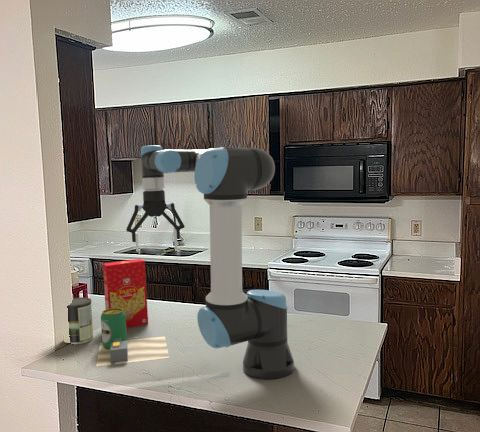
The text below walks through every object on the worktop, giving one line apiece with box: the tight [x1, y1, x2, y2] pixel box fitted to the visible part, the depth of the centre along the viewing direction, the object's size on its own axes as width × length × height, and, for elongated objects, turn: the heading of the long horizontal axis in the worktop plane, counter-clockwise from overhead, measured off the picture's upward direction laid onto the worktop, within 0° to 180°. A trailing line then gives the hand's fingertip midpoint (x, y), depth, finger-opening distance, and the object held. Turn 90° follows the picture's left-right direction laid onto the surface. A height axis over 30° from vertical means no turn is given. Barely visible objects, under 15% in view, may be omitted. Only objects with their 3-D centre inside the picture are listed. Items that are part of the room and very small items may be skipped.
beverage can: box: [100, 308, 128, 350], centre depth 161 cm, size 8×8×12 cm
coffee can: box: [67, 297, 94, 345], centre depth 172 cm, size 10×10×14 cm
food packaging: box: [102, 258, 149, 329], centre depth 185 cm, size 15×5×25 cm, turn 120°
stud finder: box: [110, 341, 128, 363], centre depth 151 cm, size 7×5×5 cm
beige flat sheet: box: [95, 336, 170, 368], centre depth 157 cm, size 20×22×1 cm
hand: (156, 249), depth 171 cm, fingers open, 13 cm apart
